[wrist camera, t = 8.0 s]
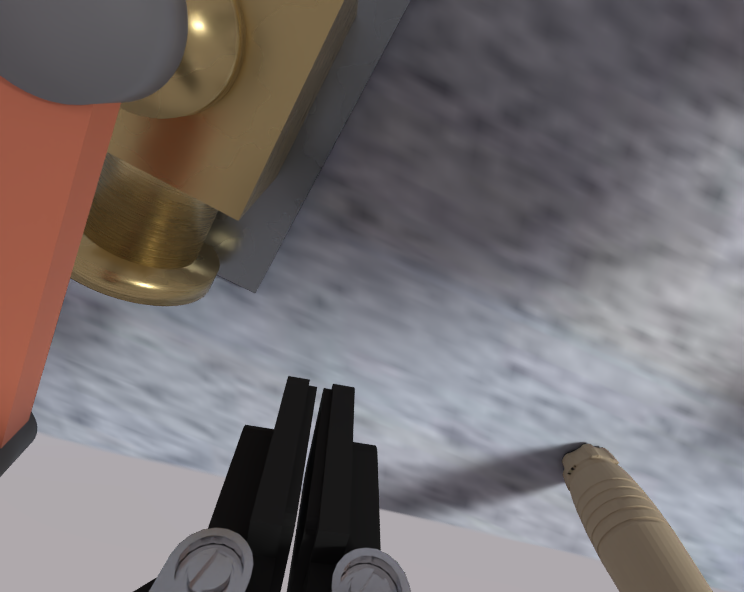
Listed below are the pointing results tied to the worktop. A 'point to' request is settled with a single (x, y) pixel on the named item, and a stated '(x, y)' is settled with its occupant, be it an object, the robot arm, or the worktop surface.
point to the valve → (227, 145)
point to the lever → (61, 160)
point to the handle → (627, 527)
